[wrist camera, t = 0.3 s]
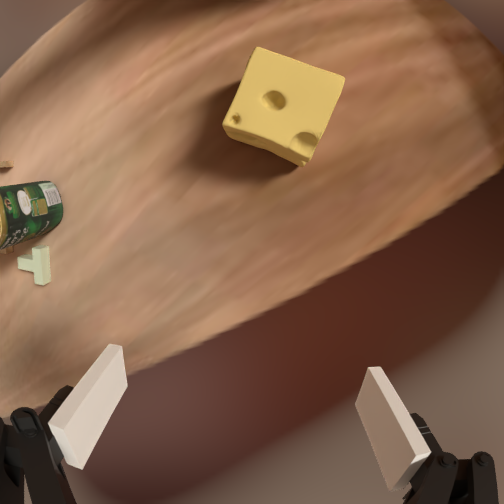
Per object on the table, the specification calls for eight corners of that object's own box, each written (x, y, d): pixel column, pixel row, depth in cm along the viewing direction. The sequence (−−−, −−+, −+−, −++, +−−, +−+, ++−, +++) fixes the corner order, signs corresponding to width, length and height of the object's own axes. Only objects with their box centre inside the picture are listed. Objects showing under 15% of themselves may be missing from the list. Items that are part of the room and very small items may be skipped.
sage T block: (24, 242, 40) (16, 245, 38) (48, 246, 41) (40, 249, 38) (27, 275, 42) (19, 279, 39) (51, 281, 42) (43, 285, 40)
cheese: (301, 168, 38) (316, 163, 28) (223, 138, 37) (214, 124, 28) (327, 99, 36) (349, 77, 26) (252, 71, 35) (252, 39, 25)
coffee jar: (34, 242, 40) (-45, 273, 22) (20, 199, 39) (-62, 215, 21) (71, 219, 40) (-14, 245, 22) (56, 173, 38) (-32, 177, 20)
